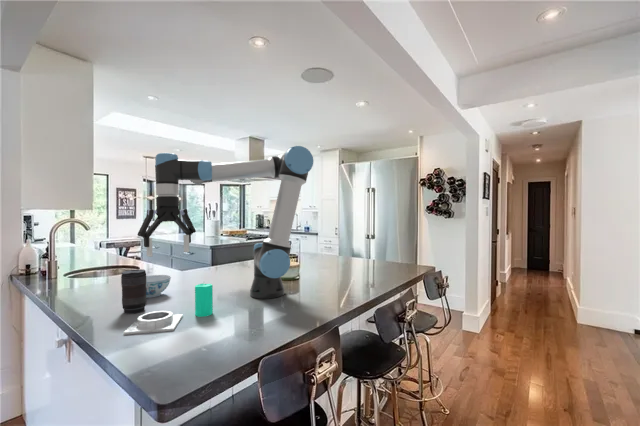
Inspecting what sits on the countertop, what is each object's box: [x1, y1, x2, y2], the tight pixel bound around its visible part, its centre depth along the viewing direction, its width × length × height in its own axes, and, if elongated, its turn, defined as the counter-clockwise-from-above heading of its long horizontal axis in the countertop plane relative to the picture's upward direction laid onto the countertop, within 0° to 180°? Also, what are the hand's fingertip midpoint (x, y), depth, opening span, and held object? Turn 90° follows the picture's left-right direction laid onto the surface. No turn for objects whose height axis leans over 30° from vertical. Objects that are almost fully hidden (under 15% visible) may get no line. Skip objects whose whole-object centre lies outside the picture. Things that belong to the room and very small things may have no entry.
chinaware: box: [146, 274, 172, 299], centre depth 140 cm, size 15×15×8 cm
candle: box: [194, 282, 214, 318], centre depth 114 cm, size 6×6×12 cm
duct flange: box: [122, 310, 184, 336], centre depth 103 cm, size 14×14×3 cm
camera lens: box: [120, 268, 147, 315], centre depth 118 cm, size 8×8×15 cm
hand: (168, 254), depth 116 cm, fingers open, 13 cm apart
